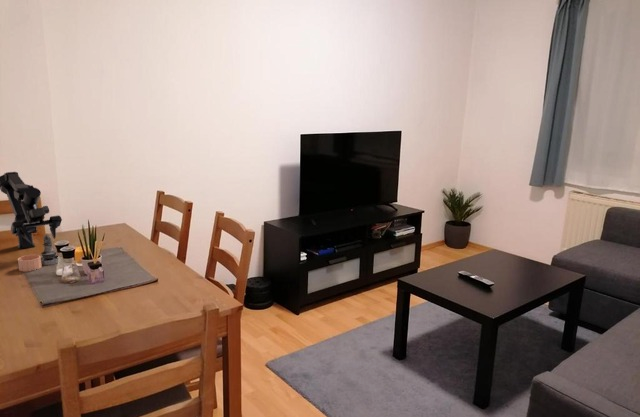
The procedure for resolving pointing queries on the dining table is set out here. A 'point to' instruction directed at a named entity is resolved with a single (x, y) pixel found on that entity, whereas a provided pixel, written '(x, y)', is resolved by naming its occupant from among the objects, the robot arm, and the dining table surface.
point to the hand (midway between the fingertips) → (43, 240)
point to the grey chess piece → (48, 249)
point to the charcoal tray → (49, 261)
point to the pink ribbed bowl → (29, 262)
